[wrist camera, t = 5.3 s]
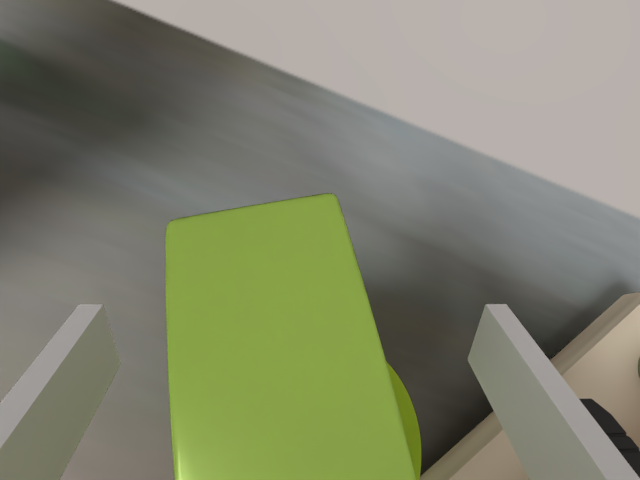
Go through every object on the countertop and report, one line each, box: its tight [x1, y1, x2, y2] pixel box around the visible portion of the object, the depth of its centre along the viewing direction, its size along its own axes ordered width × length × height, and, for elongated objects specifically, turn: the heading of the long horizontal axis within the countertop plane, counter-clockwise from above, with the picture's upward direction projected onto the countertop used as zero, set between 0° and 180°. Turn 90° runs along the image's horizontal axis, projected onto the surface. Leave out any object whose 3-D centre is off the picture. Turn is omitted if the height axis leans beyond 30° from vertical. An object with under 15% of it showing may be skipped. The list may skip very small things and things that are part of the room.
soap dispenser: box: [165, 193, 421, 480], centre depth 12 cm, size 6×7×20 cm
